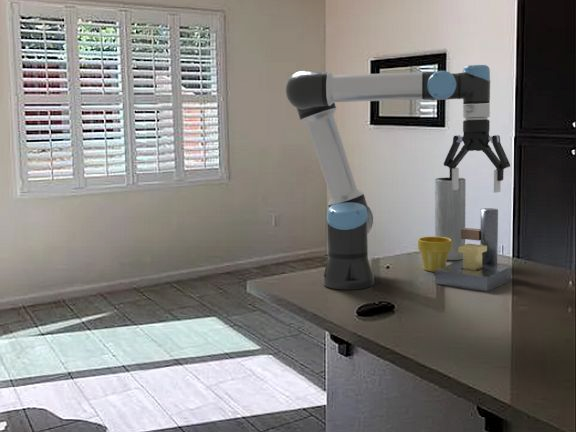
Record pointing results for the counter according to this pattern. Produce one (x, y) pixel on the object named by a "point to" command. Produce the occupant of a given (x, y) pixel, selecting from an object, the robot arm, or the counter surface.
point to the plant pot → (434, 252)
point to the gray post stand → (490, 271)
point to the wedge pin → (472, 256)
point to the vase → (450, 214)
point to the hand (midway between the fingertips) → (475, 190)
